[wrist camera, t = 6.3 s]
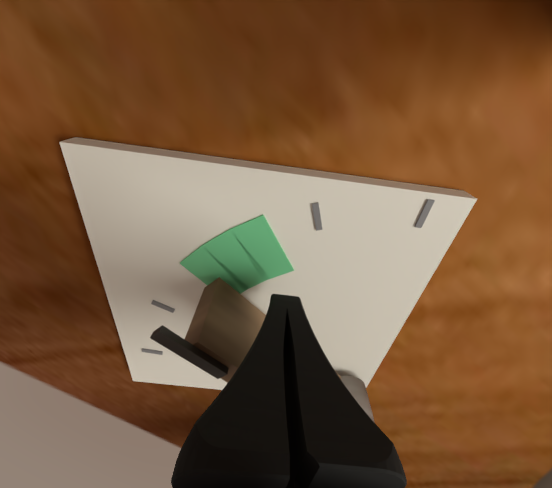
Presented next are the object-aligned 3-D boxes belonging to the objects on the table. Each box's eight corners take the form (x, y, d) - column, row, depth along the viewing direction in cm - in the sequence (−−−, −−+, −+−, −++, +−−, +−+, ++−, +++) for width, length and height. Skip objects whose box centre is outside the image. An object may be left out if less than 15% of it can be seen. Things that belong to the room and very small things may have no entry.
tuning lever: (372, 389, 19) (394, 468, 15) (337, 402, 20) (350, 478, 16) (209, 249, 13) (176, 324, 9) (172, 279, 14) (128, 357, 10)
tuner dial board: (354, 390, 22) (357, 404, 21) (139, 368, 21) (132, 382, 20) (464, 190, 12) (478, 200, 11) (75, 137, 12) (57, 142, 11)
